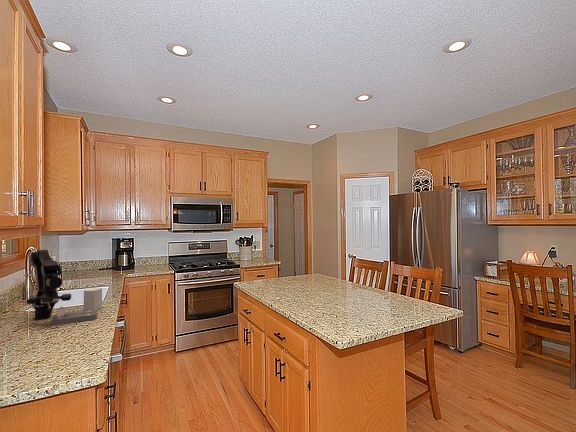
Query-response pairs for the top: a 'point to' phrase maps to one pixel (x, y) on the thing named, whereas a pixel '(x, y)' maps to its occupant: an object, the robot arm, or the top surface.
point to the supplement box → (93, 299)
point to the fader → (61, 311)
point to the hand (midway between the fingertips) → (49, 314)
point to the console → (74, 317)
